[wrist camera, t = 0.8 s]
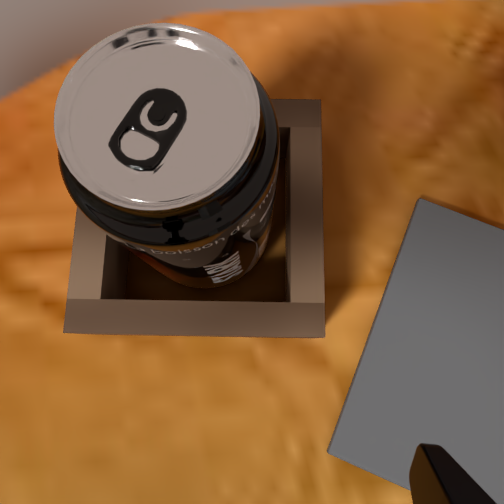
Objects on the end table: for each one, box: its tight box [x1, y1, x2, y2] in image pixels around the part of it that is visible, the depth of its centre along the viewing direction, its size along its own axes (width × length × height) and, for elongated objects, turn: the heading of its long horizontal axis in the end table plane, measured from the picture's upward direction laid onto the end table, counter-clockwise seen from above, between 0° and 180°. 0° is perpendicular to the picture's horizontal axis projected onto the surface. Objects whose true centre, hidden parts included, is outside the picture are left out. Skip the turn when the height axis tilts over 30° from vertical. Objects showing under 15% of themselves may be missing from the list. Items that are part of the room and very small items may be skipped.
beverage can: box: [54, 23, 280, 288], centre depth 17 cm, size 7×7×12 cm
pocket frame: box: [63, 99, 325, 338], centre depth 21 cm, size 12×12×4 cm
